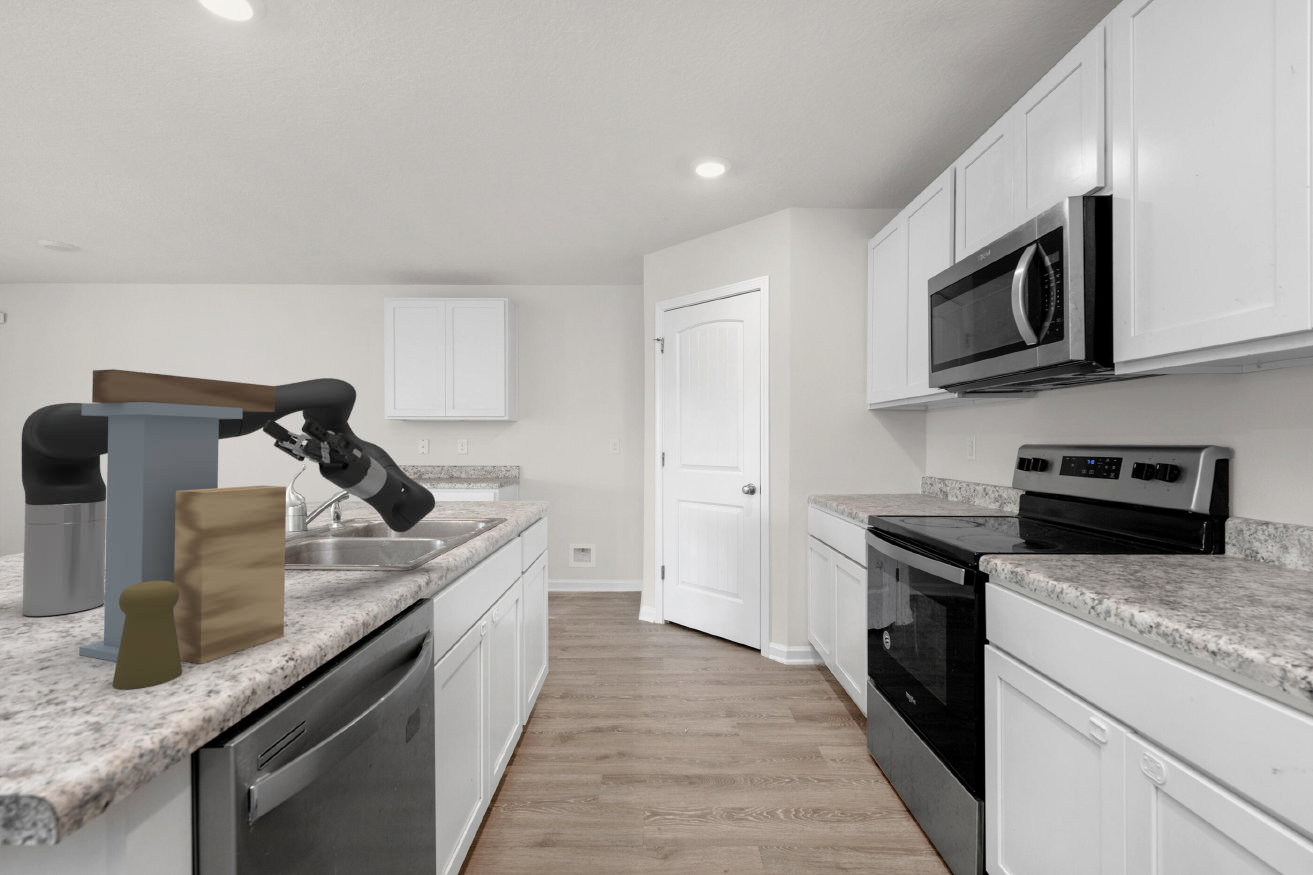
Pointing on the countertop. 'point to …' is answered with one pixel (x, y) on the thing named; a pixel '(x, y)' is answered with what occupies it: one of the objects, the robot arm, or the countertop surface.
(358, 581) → the countertop surface
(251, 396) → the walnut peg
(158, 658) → the cork
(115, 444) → the blue grey stand
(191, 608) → the oak post
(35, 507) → the robot arm
